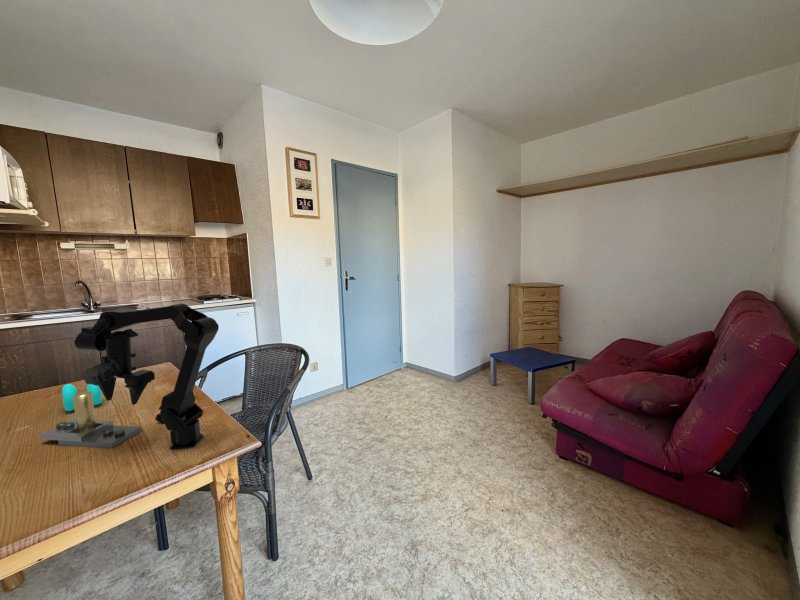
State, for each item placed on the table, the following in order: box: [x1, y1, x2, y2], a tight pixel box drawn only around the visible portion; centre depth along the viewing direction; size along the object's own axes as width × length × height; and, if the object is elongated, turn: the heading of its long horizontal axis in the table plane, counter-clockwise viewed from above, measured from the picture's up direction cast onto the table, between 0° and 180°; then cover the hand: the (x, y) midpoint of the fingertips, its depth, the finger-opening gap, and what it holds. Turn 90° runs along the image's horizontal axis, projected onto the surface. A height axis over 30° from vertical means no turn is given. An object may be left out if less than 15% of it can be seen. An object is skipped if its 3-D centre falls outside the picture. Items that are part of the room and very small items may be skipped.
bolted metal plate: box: [39, 418, 142, 449], centre depth 99 cm, size 24×10×4 cm, turn 84°
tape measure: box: [155, 412, 164, 423], centre depth 110 cm, size 7×7×4 cm
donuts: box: [61, 383, 103, 412], centre depth 120 cm, size 10×10×10 cm
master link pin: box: [73, 391, 96, 434], centre depth 99 cm, size 4×4×14 cm
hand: (121, 402), depth 95 cm, fingers open, 9 cm apart
